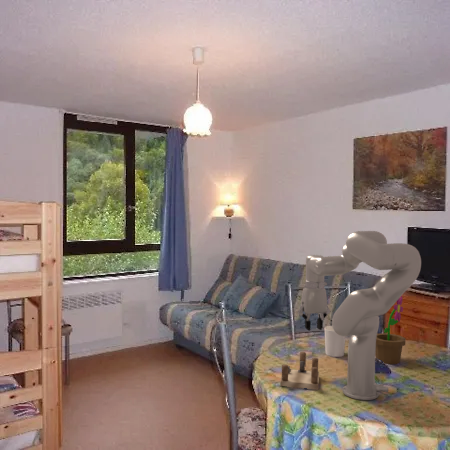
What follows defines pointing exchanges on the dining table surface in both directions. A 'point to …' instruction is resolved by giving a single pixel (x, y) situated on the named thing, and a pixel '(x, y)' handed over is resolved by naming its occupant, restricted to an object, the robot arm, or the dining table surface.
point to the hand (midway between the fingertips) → (313, 329)
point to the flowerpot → (390, 340)
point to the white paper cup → (334, 343)
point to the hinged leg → (302, 361)
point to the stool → (301, 377)
